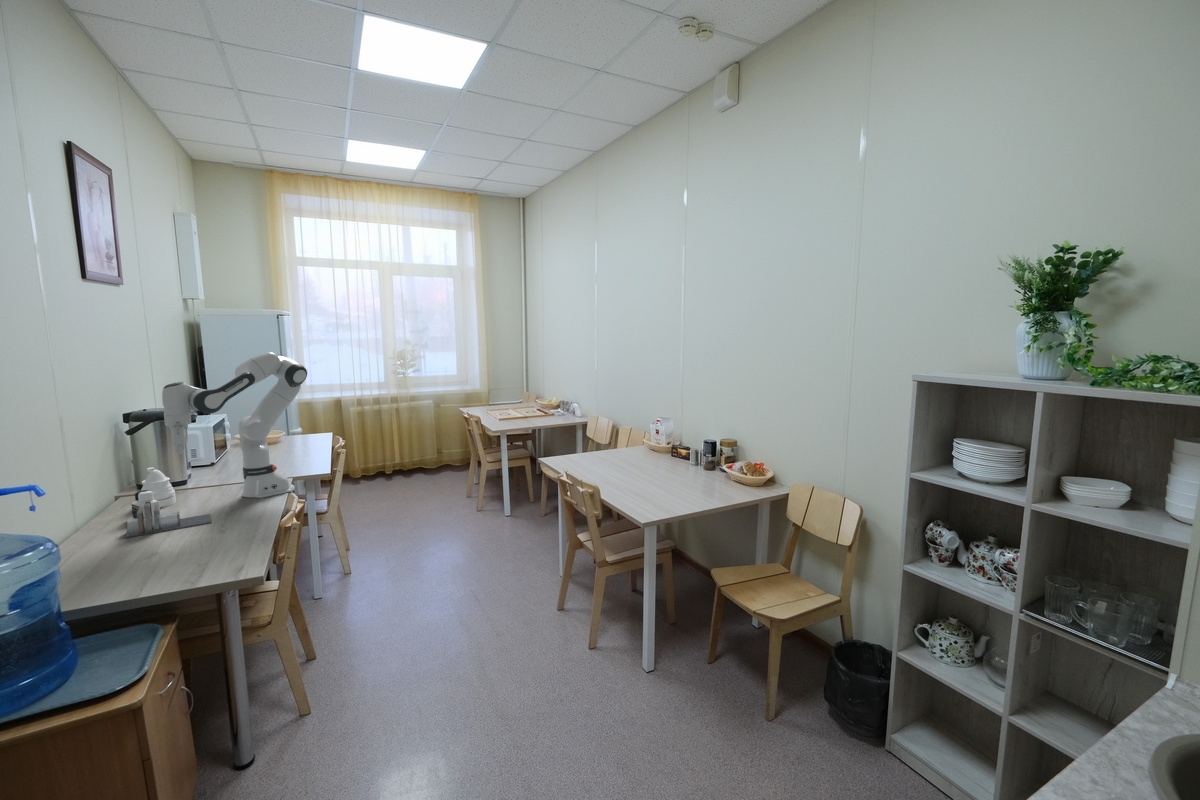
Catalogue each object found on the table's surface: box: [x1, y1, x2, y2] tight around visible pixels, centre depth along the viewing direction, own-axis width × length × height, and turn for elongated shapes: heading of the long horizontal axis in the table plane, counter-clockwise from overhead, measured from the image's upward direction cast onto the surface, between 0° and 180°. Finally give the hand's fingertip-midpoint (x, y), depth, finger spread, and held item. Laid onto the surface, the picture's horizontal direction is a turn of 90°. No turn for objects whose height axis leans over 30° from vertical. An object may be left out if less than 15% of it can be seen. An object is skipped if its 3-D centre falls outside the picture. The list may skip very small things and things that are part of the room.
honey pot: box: [140, 466, 177, 508], centre depth 239 cm, size 13×13×18 cm
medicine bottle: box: [131, 490, 161, 519], centre depth 222 cm, size 7×7×12 cm
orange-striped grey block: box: [126, 511, 181, 533], centre depth 211 cm, size 16×4×4 cm, turn 128°
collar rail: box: [125, 500, 213, 539], centre depth 213 cm, size 27×12×11 cm, turn 128°
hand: (181, 452), depth 221 cm, fingers open, 8 cm apart
